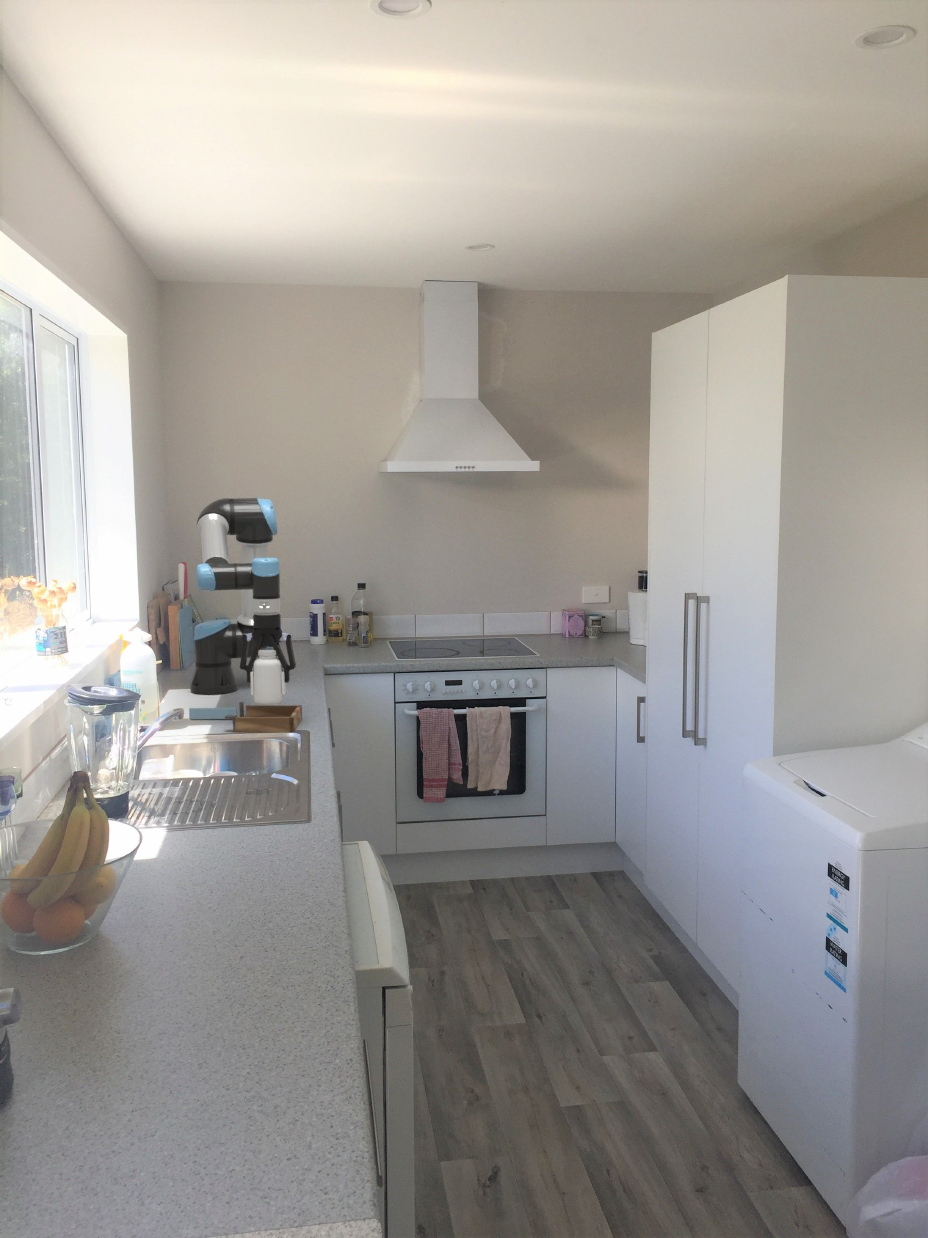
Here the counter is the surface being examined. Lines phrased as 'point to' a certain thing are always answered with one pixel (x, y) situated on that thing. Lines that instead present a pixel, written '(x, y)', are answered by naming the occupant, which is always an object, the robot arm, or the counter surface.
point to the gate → (211, 713)
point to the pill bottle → (267, 677)
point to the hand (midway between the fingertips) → (268, 693)
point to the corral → (267, 718)
